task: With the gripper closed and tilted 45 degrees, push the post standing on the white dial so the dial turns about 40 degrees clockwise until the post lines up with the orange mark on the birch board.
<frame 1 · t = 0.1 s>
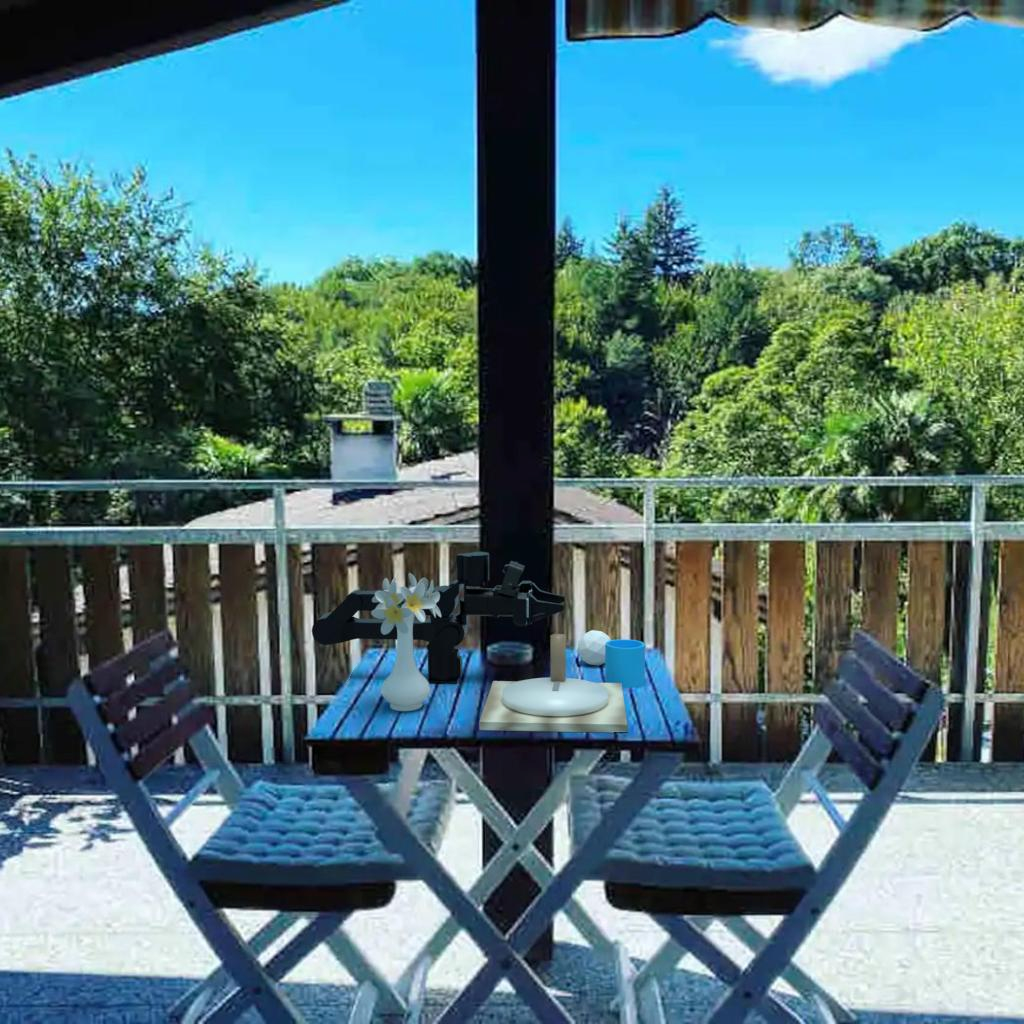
hand: (564, 603, 201), 17 cm above the table, tool horizontal, fingers open, 9 cm apart
dial: (555, 672, 183), point 7 cm above the table, hinge at 0.0°
ball: (595, 665, 216), on the table
mug: (624, 680, 203), on the table
dial board: (555, 708, 184), on the table
flower vase: (408, 708, 185), on the table
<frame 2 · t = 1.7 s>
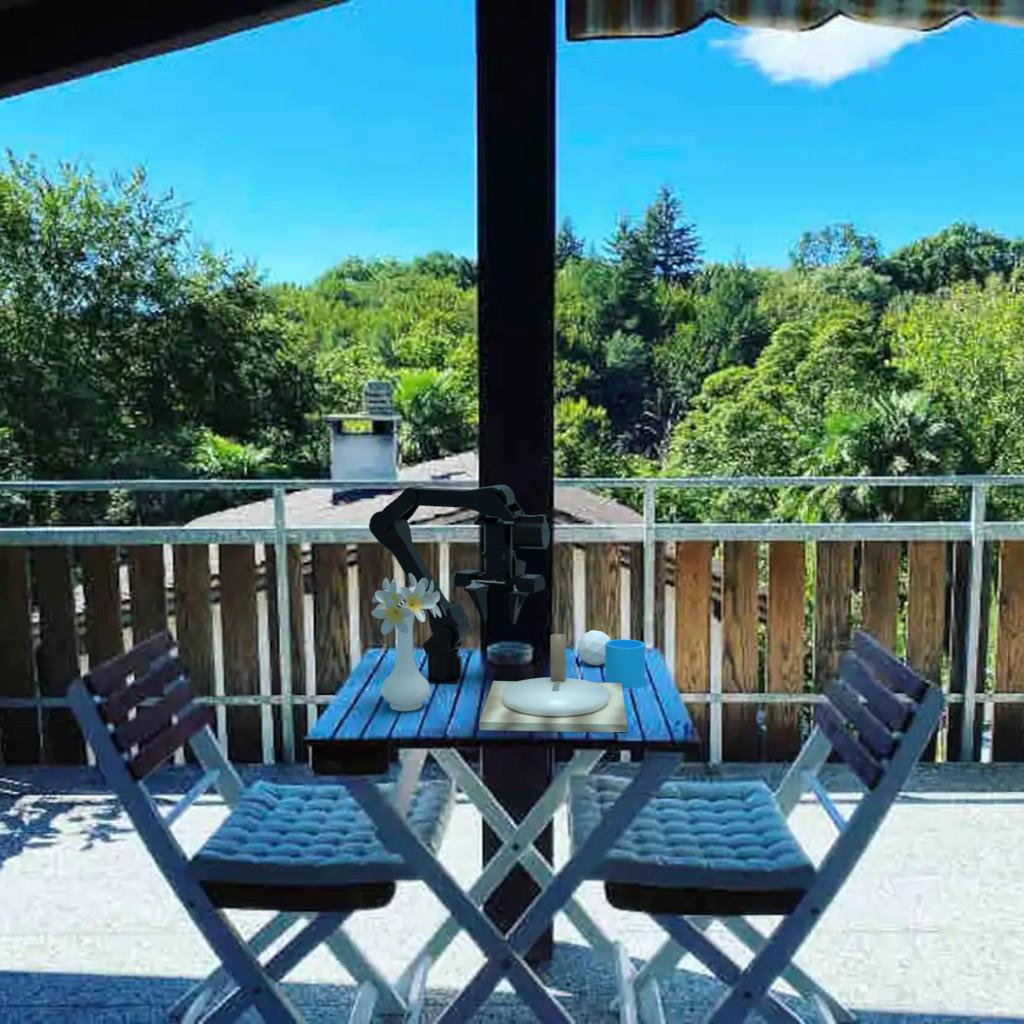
hand: (499, 622, 199), 13 cm above the table, tool pointing down, fingers open, 6 cm apart
nothing on the table moved.
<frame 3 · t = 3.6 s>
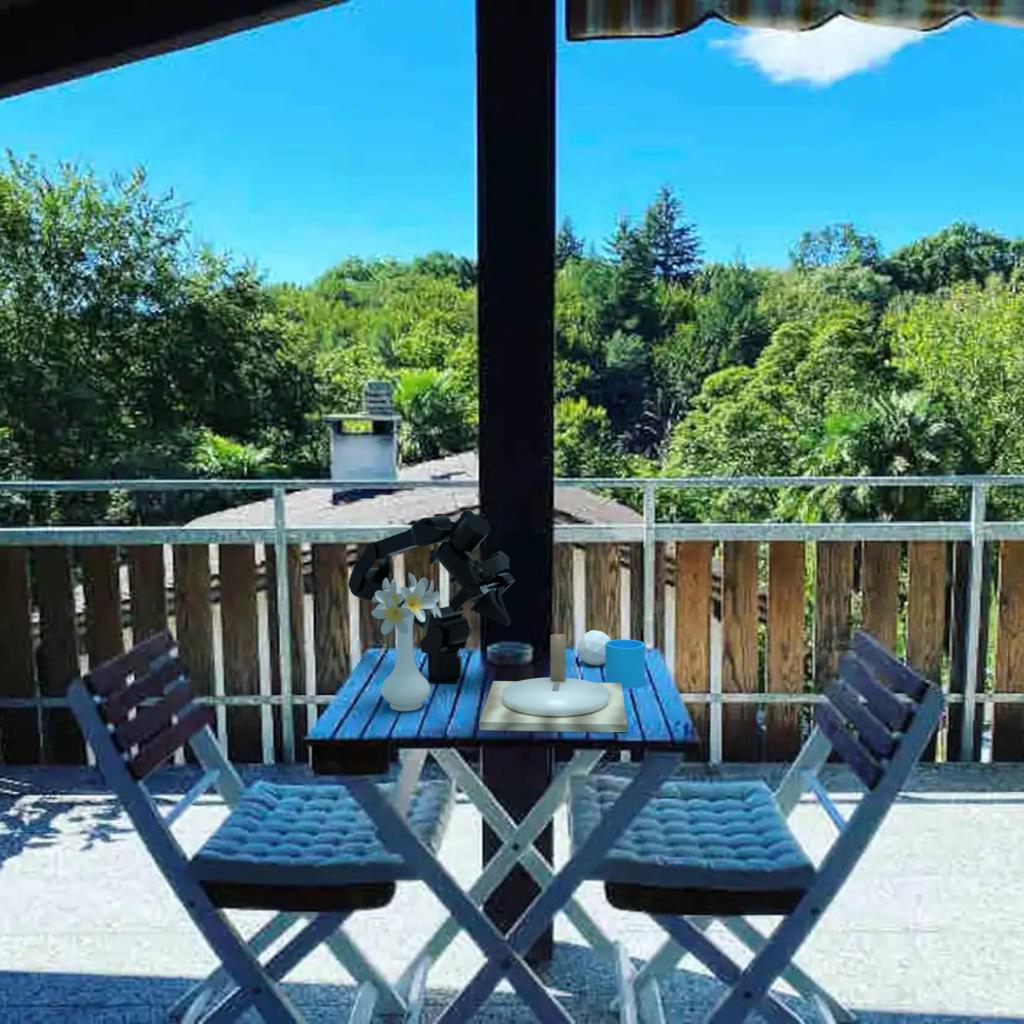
hand: (508, 623, 195), 14 cm above the table, tool tilted 45°, fingers closed
nothing on the table moved.
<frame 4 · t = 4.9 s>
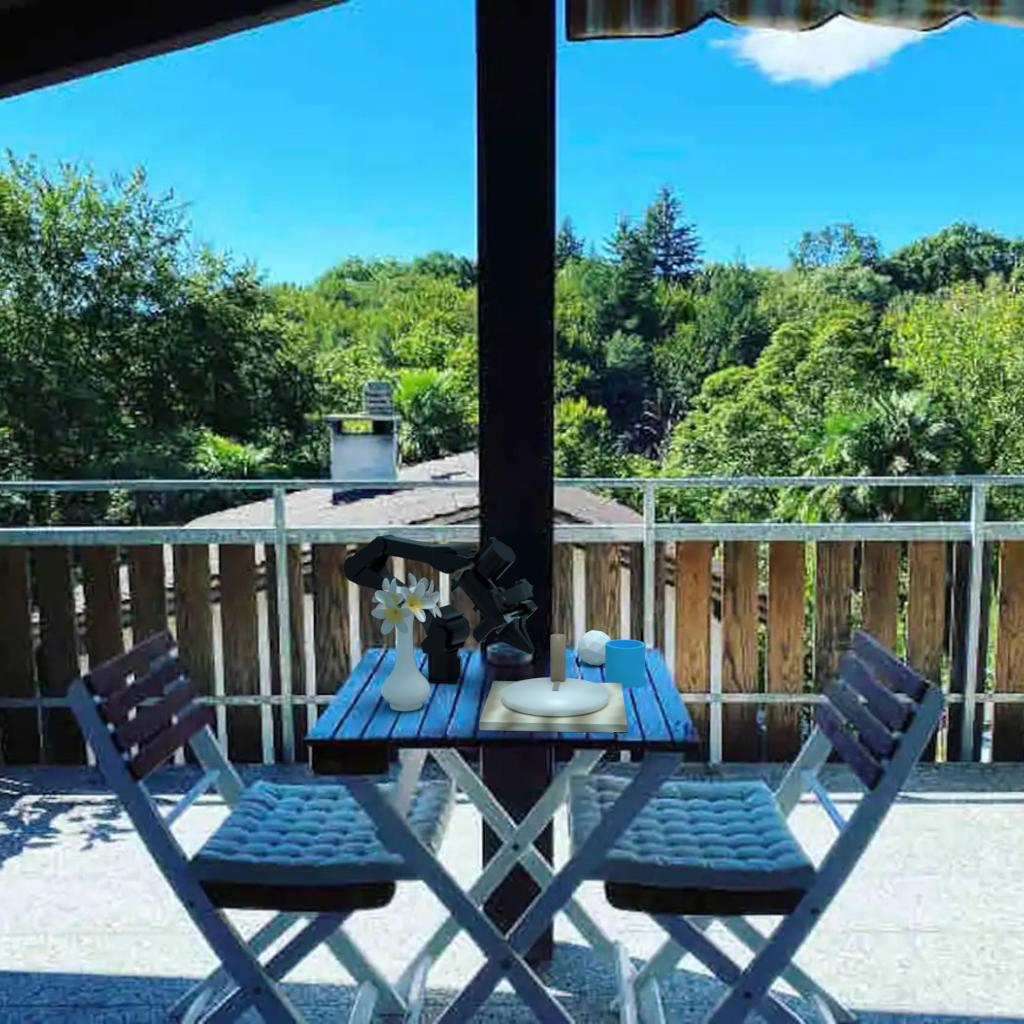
hand: (532, 652, 193), 8 cm above the table, tool tilted 45°, fingers closed
nothing on the table moved.
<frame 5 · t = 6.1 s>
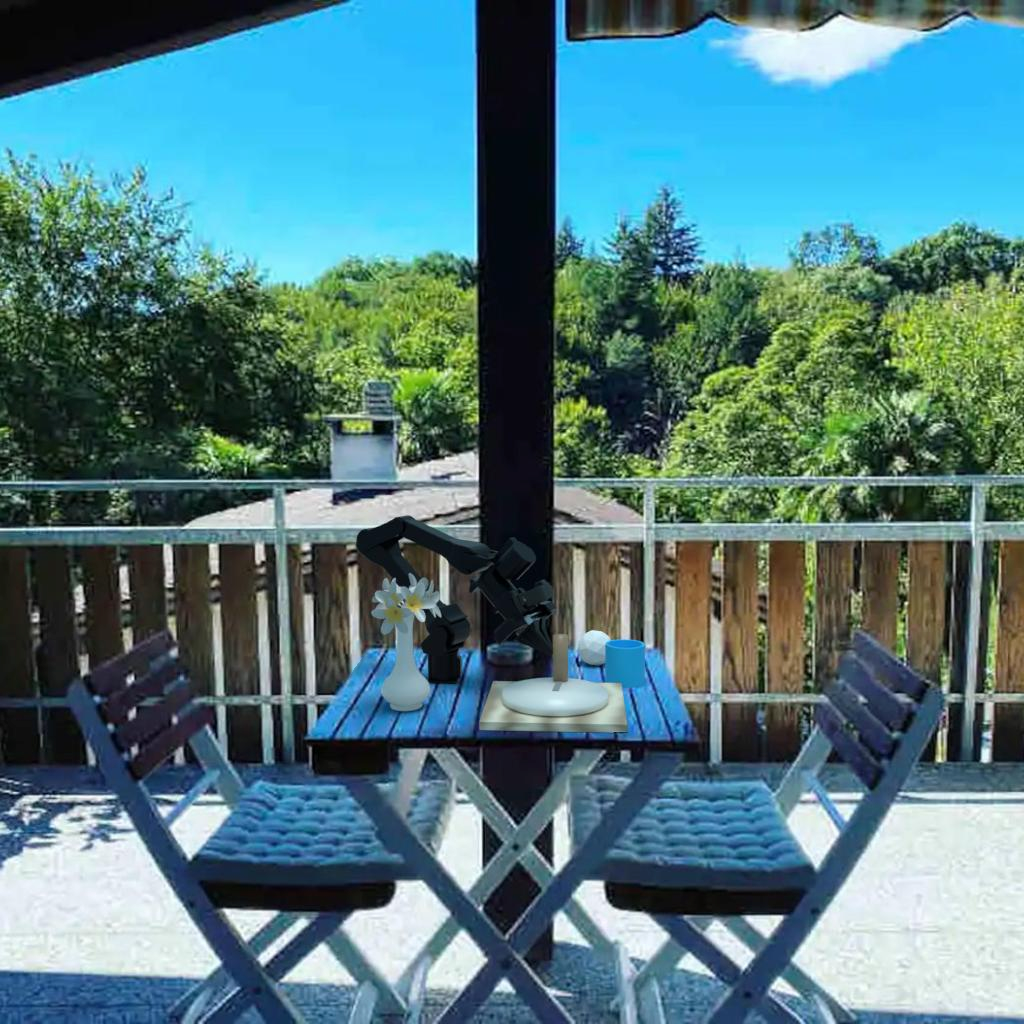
hand: (552, 654, 191), 8 cm above the table, tool tilted 45°, fingers closed, pressing on dial
dial: (555, 672, 183), point 7 cm above the table, hinge at 3.3°, touching gripper
everything else where it was.
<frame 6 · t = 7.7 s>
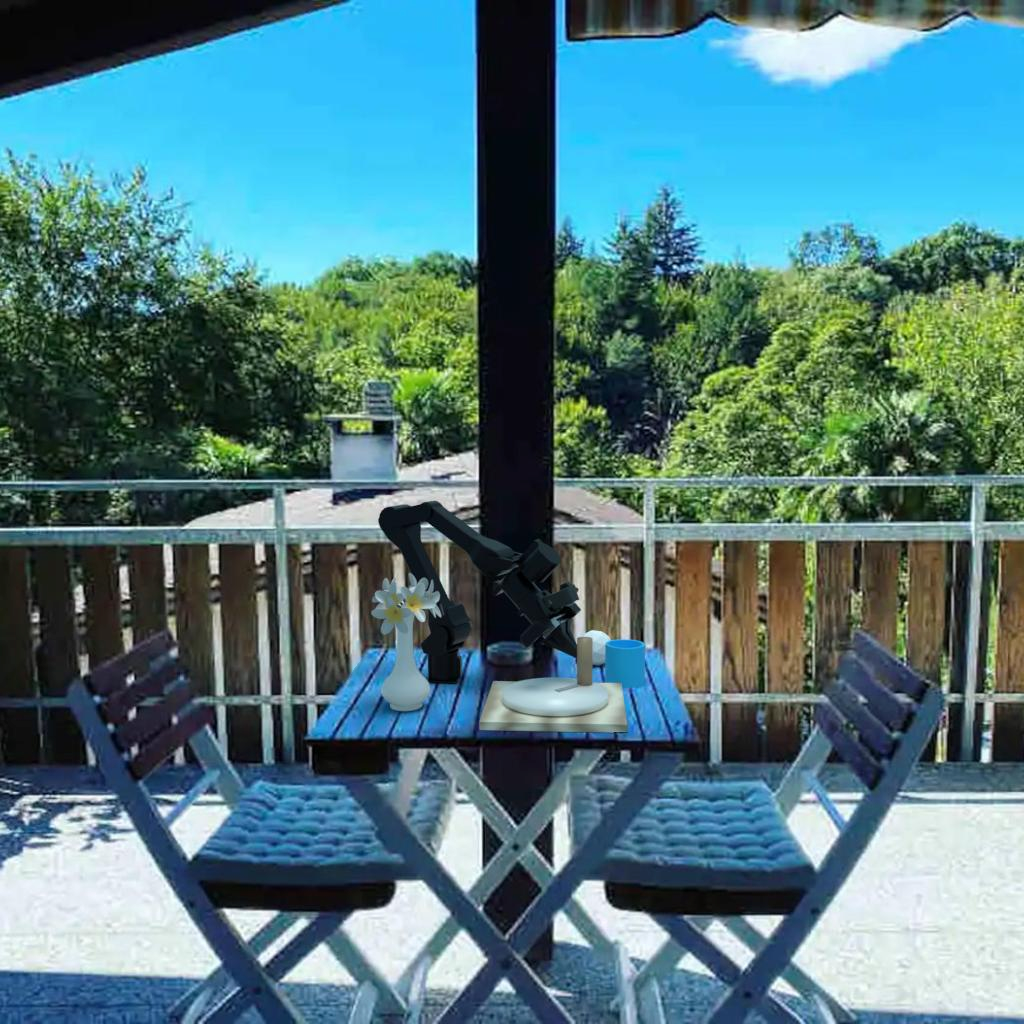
hand: (579, 657, 189), 8 cm above the table, tool tilted 45°, fingers closed, pressing on dial
dial: (555, 672, 183), point 7 cm above the table, hinge at 41.7°, touching gripper
everything else where it was.
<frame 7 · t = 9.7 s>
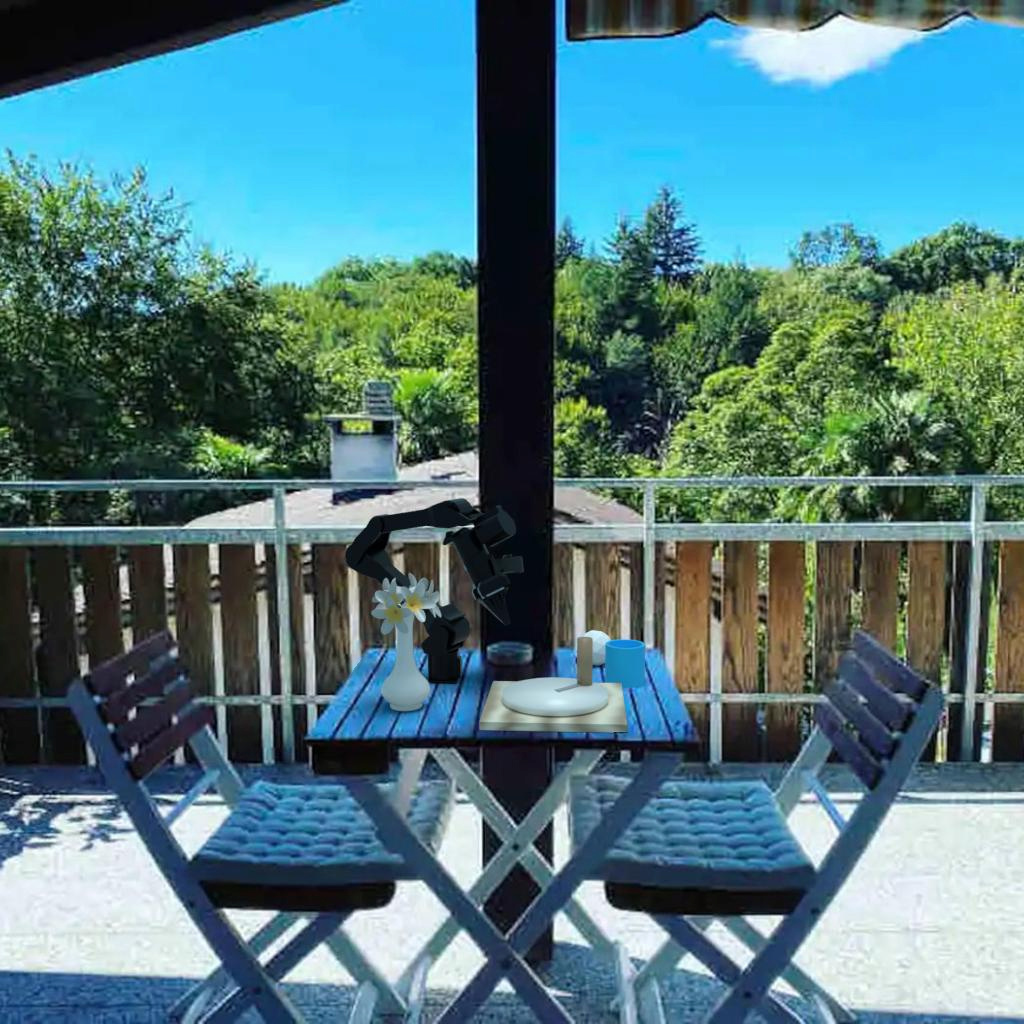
hand: (508, 624, 197), 13 cm above the table, tool tilted 30°, fingers closed
dial: (555, 672, 183), point 7 cm above the table, hinge at 41.8°
everything else where it was.
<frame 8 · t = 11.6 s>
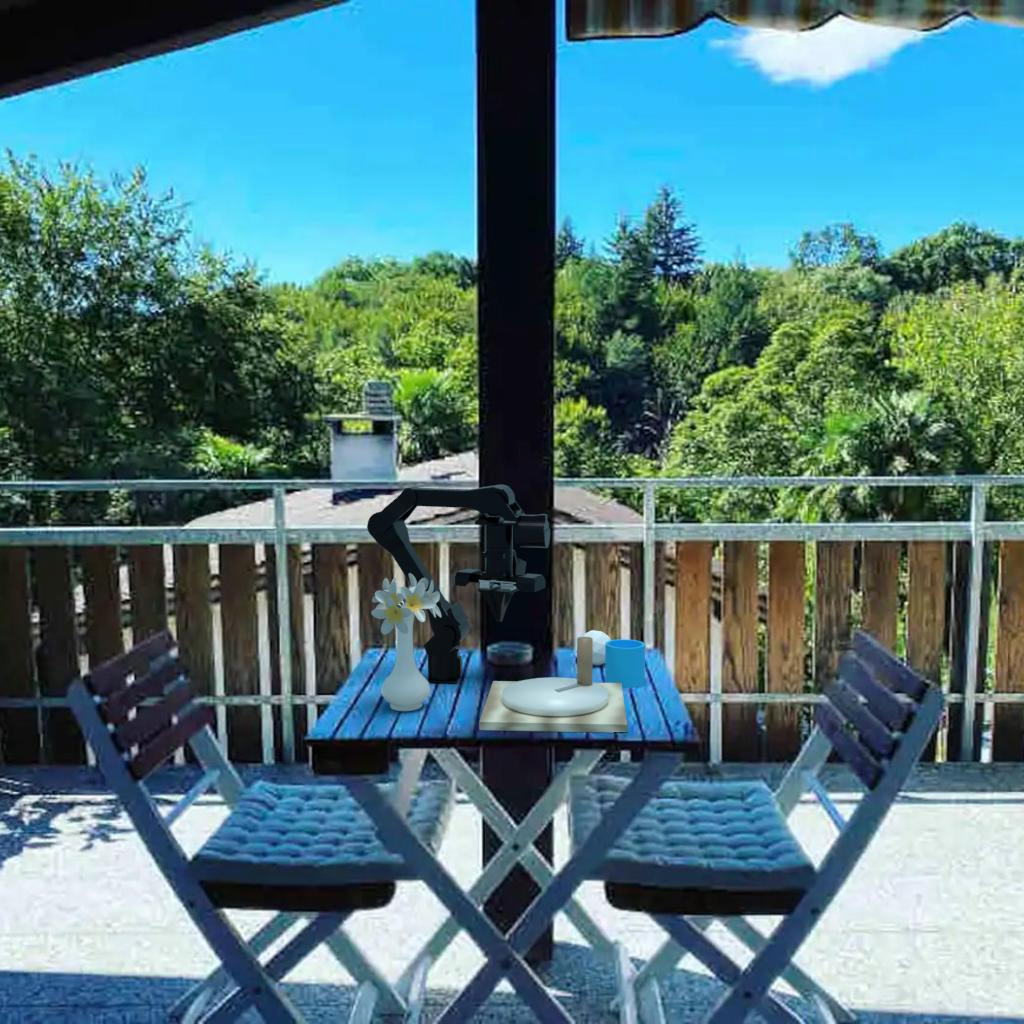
hand: (499, 621, 200), 13 cm above the table, tool pointing down, fingers closed
nothing on the table moved.
at the end: dial at +42° (first picture: +0°); flower vase moved 0.2 cm from its start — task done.
